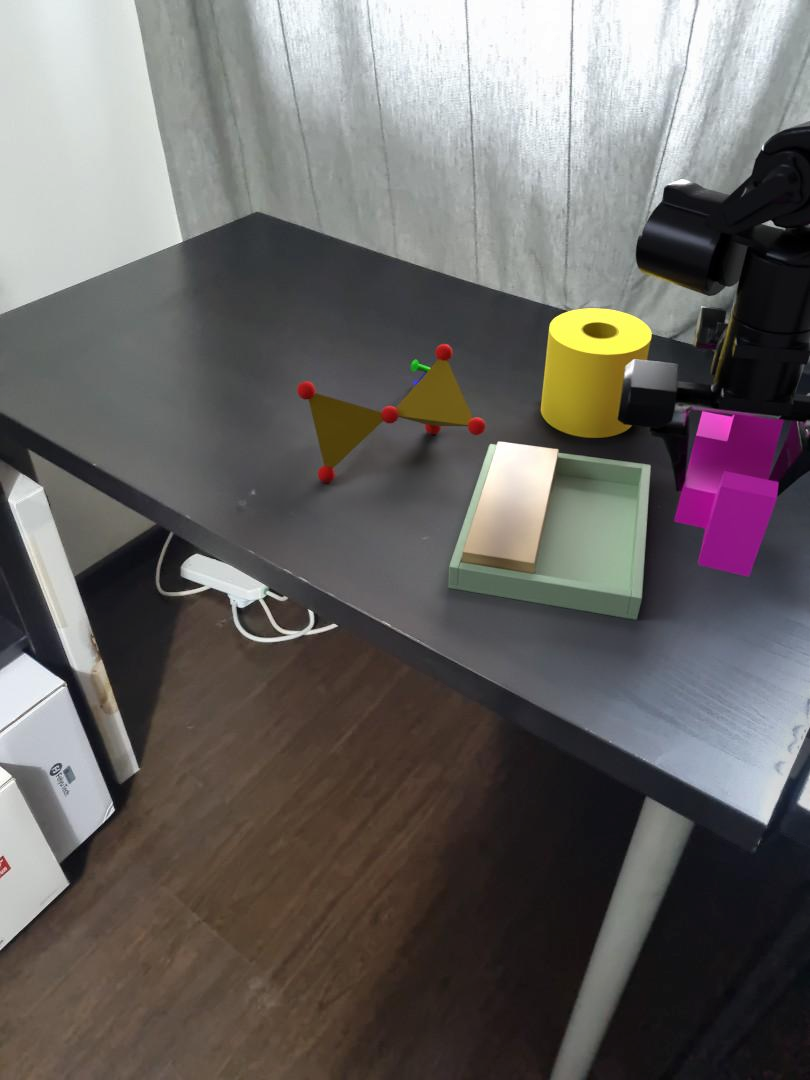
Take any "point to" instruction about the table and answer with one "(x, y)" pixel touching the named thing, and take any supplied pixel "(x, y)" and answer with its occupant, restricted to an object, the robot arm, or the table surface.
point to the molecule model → (389, 412)
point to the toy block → (730, 488)
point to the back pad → (512, 508)
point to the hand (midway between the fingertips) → (722, 494)
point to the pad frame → (576, 541)
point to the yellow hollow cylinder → (590, 369)
